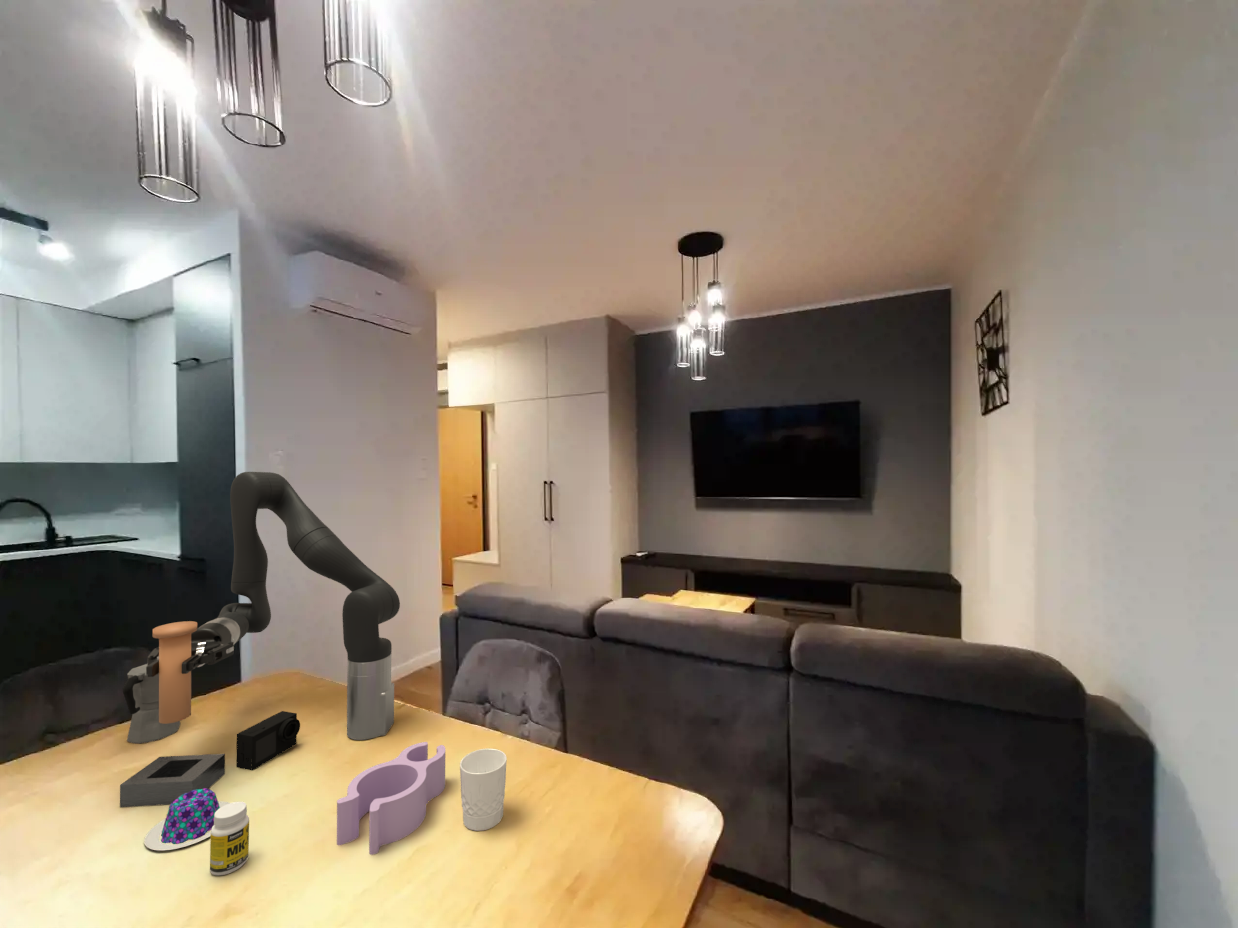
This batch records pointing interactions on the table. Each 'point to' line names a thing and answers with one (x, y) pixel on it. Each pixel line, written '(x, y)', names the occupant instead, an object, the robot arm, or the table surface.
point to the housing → (171, 779)
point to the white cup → (483, 788)
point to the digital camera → (266, 740)
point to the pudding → (185, 820)
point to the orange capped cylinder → (174, 670)
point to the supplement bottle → (229, 838)
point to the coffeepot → (145, 708)
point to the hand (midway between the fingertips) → (167, 669)
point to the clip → (391, 796)
